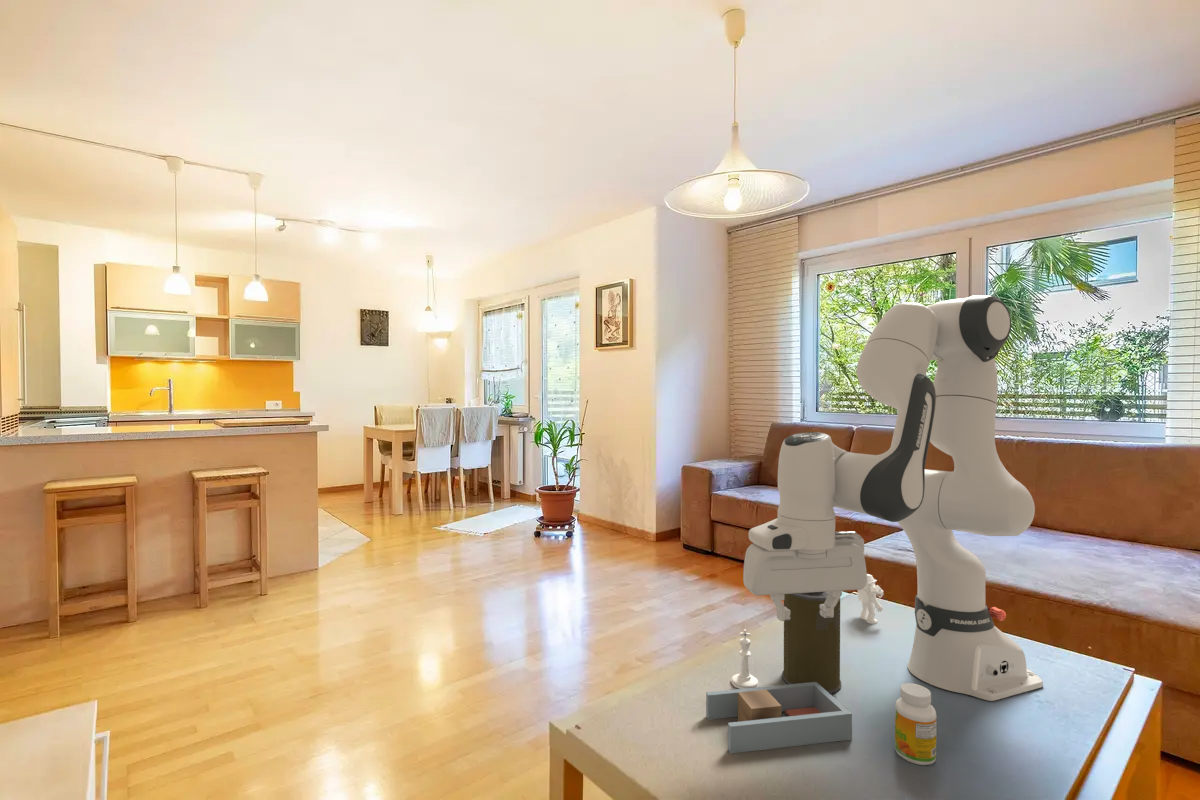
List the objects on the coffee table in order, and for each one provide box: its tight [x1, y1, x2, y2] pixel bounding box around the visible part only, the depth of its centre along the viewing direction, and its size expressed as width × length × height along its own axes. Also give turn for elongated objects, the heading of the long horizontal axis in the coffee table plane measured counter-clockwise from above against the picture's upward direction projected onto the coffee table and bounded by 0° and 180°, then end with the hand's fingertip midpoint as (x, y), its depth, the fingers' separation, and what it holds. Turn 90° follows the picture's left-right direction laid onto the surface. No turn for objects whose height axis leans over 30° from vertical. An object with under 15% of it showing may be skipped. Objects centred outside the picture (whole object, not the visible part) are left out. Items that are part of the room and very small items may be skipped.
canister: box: [781, 591, 843, 695], centre depth 106 cm, size 11×10×20 cm
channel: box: [705, 682, 853, 754], centre depth 91 cm, size 20×10×4 cm, turn 100°
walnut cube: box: [737, 690, 782, 722], centre depth 90 cm, size 5×5×5 cm
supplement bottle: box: [894, 682, 937, 766], centre depth 84 cm, size 5×5×10 cm
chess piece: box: [730, 628, 760, 689], centre depth 105 cm, size 5×5×10 cm
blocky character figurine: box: [857, 573, 885, 625], centre depth 135 cm, size 9×4×12 cm, turn 10°
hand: (805, 618), depth 92 cm, fingers open, 6 cm apart
